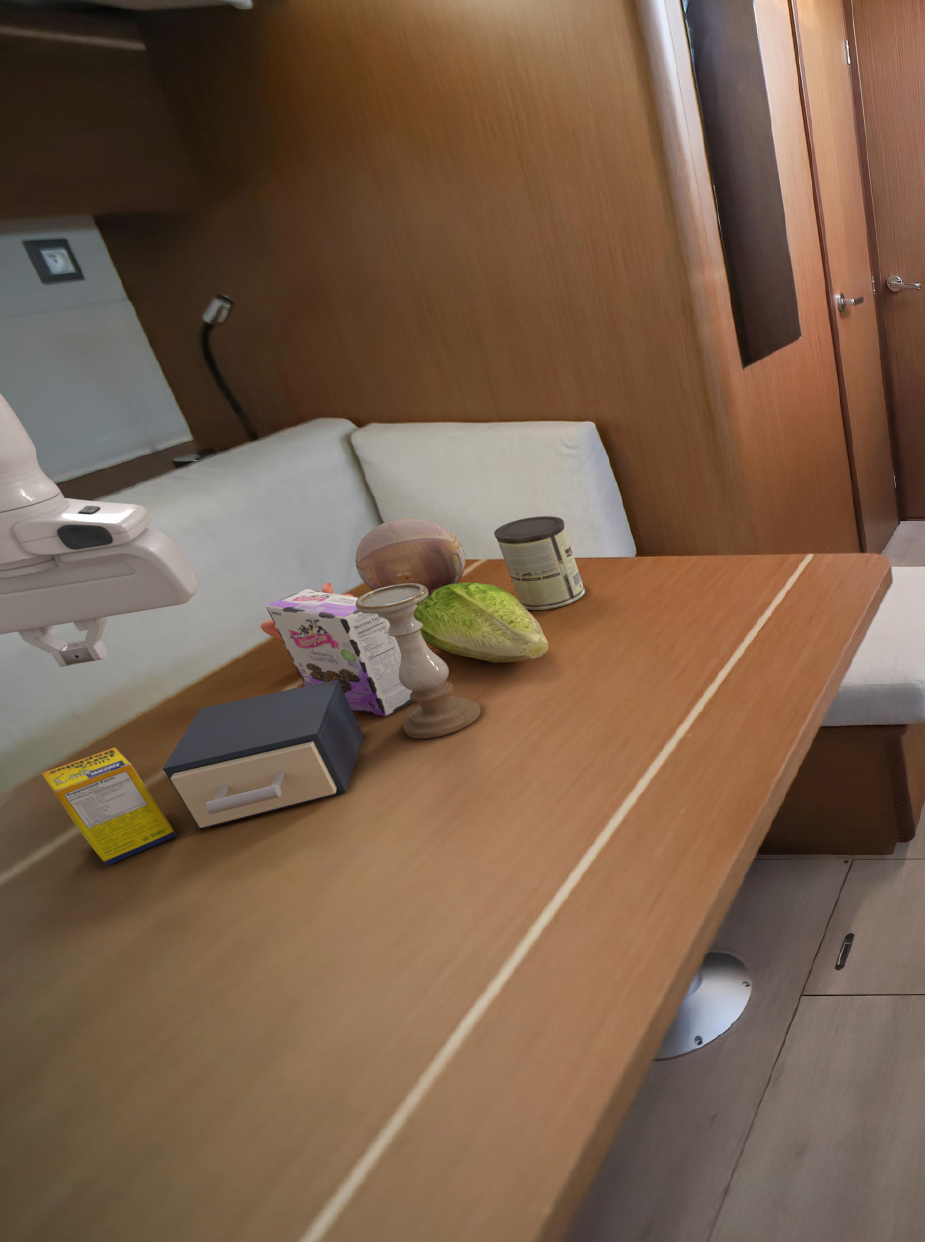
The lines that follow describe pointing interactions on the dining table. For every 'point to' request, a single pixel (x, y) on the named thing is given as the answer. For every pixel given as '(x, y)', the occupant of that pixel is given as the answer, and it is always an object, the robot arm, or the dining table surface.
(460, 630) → the lettuce
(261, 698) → the cabinet
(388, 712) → the candy box
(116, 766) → the supplement box
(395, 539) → the ornament
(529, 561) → the coffee can
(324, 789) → the drawer
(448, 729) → the candle holder
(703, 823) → the dining table surface
